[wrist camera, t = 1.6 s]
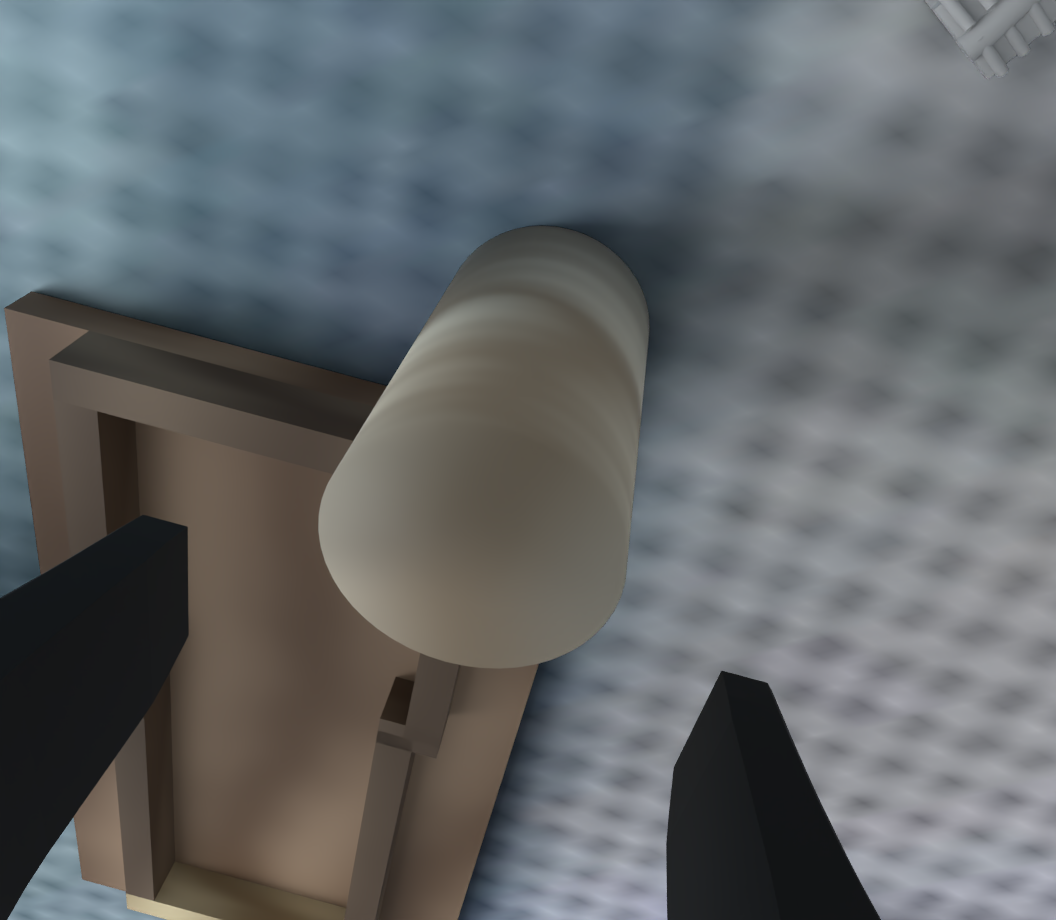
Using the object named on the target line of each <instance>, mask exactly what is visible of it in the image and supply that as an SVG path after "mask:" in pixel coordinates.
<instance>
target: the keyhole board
mask: <svg viewBox="0 0 1056 920" xmlns="http://www.w3.org/2000/svg"><path fill="white" fill-rule="evenodd" d="M4 310H5V317H6V324H7V331H8V339H9V346H10V353H11V361H12V368H13V375H14V383H15V390H16V397H17V405H18V412H19V419H20V427H21V434H22V441H23V449H24V456H25V463H26V471H27V478H28V485H29V493H30V500H31V507H32V515H33V522H34V529H35V536H36V544H37V551H38V558H39V566H40V573H41V575H42V574H43V573H45V572H47V571H48V570H50V569H52V568H53V567H55V566H57V565H58V564H60V563H62V562H63V561H65V560H67V559H68V558H70V557H72V556H74V555H75V554H77V553H79V552H80V551H82V550H84V549H85V548H87V547H89V546H90V545H92V544H94V543H95V542H97V541H99V540H100V539H102V538H104V537H105V536H107V535H109V534H110V533H112V532H114V531H115V530H117V529H119V528H120V527H122V526H124V525H126V524H127V523H129V522H131V521H133V520H134V519H136V518H138V517H140V516H142V515H147V516H150V517H154V518H158V519H161V520H165V521H169V522H173V523H176V524H180V525H184V526H187V527H188V617H189V636H188V638H187V640H186V642H185V644H184V646H183V648H182V650H181V652H180V654H179V655H178V657H177V659H176V661H175V663H174V665H173V667H172V669H171V671H170V673H169V675H168V677H167V678H166V680H165V682H164V684H163V686H162V687H161V689H160V691H159V693H158V695H157V697H156V698H155V700H154V702H153V704H152V705H151V707H150V708H149V710H148V711H147V713H146V714H145V715H144V717H143V718H142V720H141V721H140V723H139V724H138V726H137V727H136V729H135V730H134V731H133V733H132V734H131V736H130V737H129V739H128V740H127V741H126V743H125V744H124V746H123V747H122V749H121V750H120V752H119V753H118V754H117V756H116V757H115V759H114V760H113V762H112V763H111V764H110V766H109V767H108V769H107V770H106V771H105V773H104V774H103V776H102V777H101V779H100V780H99V781H98V783H97V784H96V786H95V787H94V788H93V790H92V791H91V793H90V794H89V796H88V797H87V798H86V800H85V801H84V803H83V804H82V805H81V807H80V808H79V810H78V811H77V813H76V814H75V815H74V822H75V829H76V837H77V844H78V851H79V859H80V866H81V873H82V879H83V880H86V881H90V882H94V883H97V884H101V885H105V886H108V887H112V888H116V889H119V890H123V891H126V898H127V909H131V910H134V911H138V912H142V913H145V914H149V915H153V916H156V917H160V918H163V919H167V920H458V917H459V914H460V910H461V907H462V904H463V901H464V898H465V895H466V892H467V888H468V885H469V882H470V879H471V876H472V873H473V869H474V866H475V863H476V860H477V857H478V854H479V851H480V847H481V844H482V841H483V838H484V835H485V832H486V829H487V825H488V822H489V819H490V816H491V813H492V810H493V807H494V803H495V800H496V797H497V794H498V791H499V788H500V785H501V781H502V778H503V775H504V772H505V769H506V766H507V762H508V759H509V756H510V753H511V750H512V747H513V744H514V740H515V737H516V734H517V731H518V728H519V725H520V722H521V718H522V715H523V712H524V709H525V706H526V703H527V700H528V696H529V693H530V690H531V687H532V684H533V681H534V678H535V674H536V671H537V668H538V665H539V664H535V665H529V666H523V667H517V668H502V669H496V668H478V667H470V666H462V665H458V664H454V663H449V662H445V661H442V660H439V659H435V658H432V657H429V656H426V655H424V654H422V653H419V652H417V651H415V650H412V649H410V648H408V647H406V646H404V645H402V644H401V643H399V642H397V641H395V640H393V639H392V638H390V637H389V636H387V635H386V634H384V633H383V632H381V631H380V630H378V629H377V628H376V627H375V626H373V625H372V624H371V623H370V622H369V621H367V620H366V619H365V618H364V617H363V616H362V615H361V614H360V613H359V612H358V611H357V610H356V609H355V608H354V607H353V606H352V605H351V604H350V602H349V601H348V600H347V599H346V597H345V596H344V595H343V594H342V592H341V591H340V589H339V588H338V586H337V584H336V583H335V581H334V580H333V578H332V576H331V574H330V572H329V569H328V567H327V565H326V563H325V560H324V556H323V553H322V550H321V546H320V539H319V532H318V524H319V510H320V505H321V500H322V497H323V494H324V492H325V489H326V486H327V484H328V482H329V480H330V479H331V477H332V475H333V474H334V472H335V470H336V469H337V467H338V465H339V464H340V462H341V460H342V459H343V457H344V456H345V454H346V452H347V451H348V449H349V447H350V446H351V444H352V443H353V441H354V439H355V438H356V436H357V434H358V433H359V431H360V430H361V428H362V426H363V425H364V423H365V421H366V420H367V418H368V417H369V415H370V413H371V412H372V410H373V408H374V407H375V405H376V404H377V402H378V400H379V399H380V397H381V395H382V394H383V392H384V391H385V389H386V387H387V386H385V385H381V384H377V383H374V382H370V381H366V380H362V379H359V378H355V377H351V376H347V375H344V374H340V373H336V372H332V371H328V370H325V369H321V368H317V367H313V366H310V365H306V364H302V363H298V362H295V361H291V360H287V359H283V358H280V357H276V356H272V355H268V354H265V353H261V352H257V351H253V350H250V349H246V348H242V347H238V346H235V345H231V344H227V343H223V342H220V341H216V340H212V339H208V338H205V337H201V336H197V335H193V334H189V333H186V332H182V331H178V330H174V329H171V328H167V327H163V326H159V325H156V324H152V323H148V322H144V321H141V320H137V319H133V318H129V317H126V316H122V315H118V314H114V313H111V312H107V311H103V310H99V309H96V308H92V307H88V306H84V305H81V304H77V303H73V302H69V301H65V300H62V299H58V298H54V297H50V296H47V295H43V294H39V293H35V292H30V293H28V294H27V295H25V296H23V297H22V298H20V299H18V300H17V301H15V302H14V303H12V304H10V305H9V306H7V307H5V308H4Z"/></svg>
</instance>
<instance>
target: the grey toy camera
mask: <svg viewBox="0 0 1056 920" xmlns="http://www.w3.org/2000/svg"><path fill="white" fill-rule="evenodd" d="M925 2H926V3H927V4H928V5H929V7H930V8H931V9H932V11H933V12H934V13H935V14H936V16H937V17H938V18H939V20H940V21H941V22H942V23H943V25H944V26H945V27H946V29H947V30H948V31H949V32H950V34H951V35H952V36H953V38H954V39H955V41H956V43H957V45H958V46H959V47H960V49H961V50H962V51H963V53H964V54H965V55H966V56H967V57H968V58H969V59H970V60H971V61H972V62H973V63H974V64H975V66H976V67H977V68H978V70H979V71H980V72H981V73H982V75H983V76H984V77H985V78H986V79H990V78H991V77H992V76H994V75H995V74H996V76H997V77H1002V76H1004V75H1006V74H1007V72H1008V71H1009V68H1008V67H1007V65H1006V64H1007V63H1008V62H1009V61H1010V60H1011V59H1013V58H1014V57H1016V56H1017V55H1018V57H1024V56H1025V55H1027V54H1028V53H1029V52H1030V47H1029V46H1028V45H1029V44H1030V43H1031V42H1032V41H1033V40H1034V39H1035V38H1037V37H1038V36H1040V35H1041V34H1042V36H1047V35H1049V34H1051V33H1052V32H1053V31H1054V29H1055V27H1054V26H1053V23H1054V21H1055V20H1056V0H925Z"/></svg>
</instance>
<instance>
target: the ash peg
mask: <svg viewBox="0 0 1056 920" xmlns="http://www.w3.org/2000/svg"><path fill="white" fill-rule="evenodd" d="M649 330H650V328H649V314H648V308H647V303H646V300H645V297H644V294H643V291H642V289H641V287H640V285H639V283H638V281H637V279H636V278H635V276H634V275H633V273H632V272H631V270H630V269H629V267H628V266H627V265H626V264H625V263H624V262H623V261H622V260H621V258H620V257H619V256H617V255H616V254H615V253H614V252H613V251H612V250H610V249H609V248H608V247H606V246H605V245H603V244H602V243H600V242H599V241H597V240H595V239H593V238H591V237H589V236H587V235H585V234H582V233H579V232H576V231H573V230H570V229H566V228H560V227H554V226H529V227H523V228H518V229H514V230H511V231H508V232H505V233H502V234H500V235H498V236H496V237H494V238H492V239H490V240H488V241H487V242H485V243H484V244H483V245H481V246H480V247H478V248H477V249H476V250H475V251H474V252H473V253H472V254H471V255H470V256H469V257H468V258H467V259H466V261H465V262H464V263H463V264H462V266H461V267H460V269H459V270H458V272H457V273H456V275H455V277H454V278H453V280H452V282H451V283H450V285H449V286H448V288H447V290H446V291H445V293H444V295H443V296H442V298H441V300H440V301H439V303H438V304H437V306H436V308H435V309H434V311H433V313H432V314H431V316H430V317H429V319H428V321H427V322H426V324H425V326H424V327H423V329H422V330H421V332H420V334H419V335H418V337H417V339H416V340H415V342H414V343H413V345H412V347H411V348H410V350H409V352H408V353H407V355H406V356H405V358H404V360H403V361H402V363H401V365H400V366H399V368H398V369H397V371H396V373H395V374H394V376H393V378H392V379H391V381H390V382H389V384H388V386H387V387H386V389H385V391H384V392H383V394H382V395H381V397H380V399H379V400H378V402H377V404H376V405H375V407H374V408H373V410H372V412H371V413H370V415H369V417H368V418H367V420H366V421H365V423H364V425H363V426H362V428H361V430H360V431H359V433H358V434H357V436H356V438H355V439H354V441H353V443H352V444H351V446H350V447H349V449H348V451H347V452H346V454H345V456H344V457H343V459H342V460H341V462H340V464H339V465H338V467H337V469H336V470H335V472H334V474H333V475H332V477H331V479H330V480H329V482H328V484H327V486H326V489H325V492H324V494H323V497H322V500H321V505H320V510H319V524H318V532H319V539H320V546H321V550H322V553H323V556H324V560H325V563H326V565H327V567H328V569H329V572H330V574H331V576H332V578H333V580H334V581H335V583H336V584H337V586H338V588H339V589H340V591H341V592H342V594H343V595H344V596H345V597H346V599H347V600H348V601H349V602H350V604H351V605H352V606H353V607H354V608H355V609H356V610H357V611H358V612H359V613H360V614H361V615H362V616H363V617H364V618H365V619H366V620H367V621H369V622H370V623H371V624H372V625H373V626H375V627H376V628H377V629H378V630H380V631H381V632H383V633H384V634H386V635H387V636H389V637H390V638H392V639H393V640H395V641H397V642H399V643H401V644H402V645H404V646H406V647H408V648H410V649H412V650H415V651H417V652H419V653H422V654H424V655H426V656H429V657H432V658H435V659H439V660H442V661H445V662H449V663H454V664H458V665H462V666H470V667H478V668H496V669H502V668H517V667H523V666H529V665H535V664H539V663H542V662H546V661H549V660H552V659H555V658H557V657H560V656H562V655H564V654H567V653H569V652H570V651H572V650H574V649H576V648H577V647H579V646H581V645H582V644H584V643H585V642H586V641H588V640H589V639H590V638H591V637H593V636H594V635H595V634H596V633H597V632H598V631H599V630H600V629H601V628H602V627H603V626H604V625H605V624H606V622H607V621H608V619H609V618H610V616H611V615H612V614H613V612H614V611H615V608H616V606H617V604H618V602H619V600H620V598H621V595H622V592H623V588H624V584H625V579H626V570H627V559H628V549H629V539H630V528H631V518H632V507H633V497H634V486H635V476H636V465H637V455H638V445H639V434H640V424H641V413H642V403H643V392H644V382H645V371H646V361H647V351H648V340H649Z"/></svg>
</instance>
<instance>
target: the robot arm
mask: <svg viewBox="0 0 1056 920" xmlns="http://www.w3.org/2000/svg"><path fill="white" fill-rule="evenodd" d="M188 636H189V617H188V527H187V526H184V525H180V524H176V523H173V522H169V521H165V520H161V519H158V518H154V517H150V516H147V515H142V516H140V517H138V518H136V519H134V520H133V521H131V522H129V523H127V524H126V525H124V526H122V527H120V528H119V529H117V530H115V531H114V532H112V533H110V534H109V535H107V536H105V537H104V538H102V539H100V540H99V541H97V542H95V543H94V544H92V545H90V546H89V547H87V548H85V549H84V550H82V551H80V552H79V553H77V554H75V555H74V556H72V557H70V558H68V559H67V560H65V561H63V562H62V563H60V564H58V565H57V566H55V567H53V568H52V569H50V570H48V571H47V572H45V573H43V574H42V575H40V576H38V577H36V578H35V579H33V580H31V581H29V582H28V583H26V584H24V585H22V586H21V587H19V588H17V589H15V590H14V591H12V592H10V593H8V594H6V595H5V596H3V597H1V598H0V920H7V919H8V917H9V915H10V914H11V912H12V910H13V909H14V907H15V905H16V903H17V902H18V900H19V898H20V896H21V895H22V893H23V891H24V889H25V888H26V886H27V885H28V883H29V881H30V880H31V878H32V877H33V875H34V874H35V872H36V871H37V869H38V868H39V866H40V865H41V863H42V861H43V860H44V858H45V857H46V855H47V854H48V852H49V851H50V849H51V848H52V847H53V845H54V844H55V842H56V841H57V839H58V838H59V837H60V835H61V834H62V832H63V831H64V830H65V828H66V827H67V825H68V824H69V822H70V821H71V820H72V818H73V817H74V815H75V814H76V813H77V811H78V810H79V808H80V807H81V805H82V804H83V803H84V801H85V800H86V798H87V797H88V796H89V794H90V793H91V791H92V790H93V788H94V787H95V786H96V784H97V783H98V781H99V780H100V779H101V777H102V776H103V774H104V773H105V771H106V770H107V769H108V767H109V766H110V764H111V763H112V762H113V760H114V759H115V757H116V756H117V754H118V753H119V752H120V750H121V749H122V747H123V746H124V744H125V743H126V741H127V740H128V739H129V737H130V736H131V734H132V733H133V731H134V730H135V729H136V727H137V726H138V724H139V723H140V721H141V720H142V718H143V717H144V715H145V714H146V713H147V711H148V710H149V708H150V707H151V705H152V704H153V702H154V700H155V698H156V697H157V695H158V693H159V691H160V689H161V687H162V686H163V684H164V682H165V680H166V678H167V677H168V675H169V673H170V671H171V669H172V667H173V665H174V663H175V661H176V659H177V657H178V655H179V654H180V652H181V650H182V648H183V646H184V644H185V642H186V640H187V638H188ZM666 846H667V917H668V920H881V919H880V917H879V915H878V914H877V912H876V910H875V908H874V906H873V905H872V903H871V901H870V899H869V897H868V895H867V894H866V892H865V890H864V888H863V886H862V884H861V883H860V881H859V879H858V877H857V875H856V873H855V871H854V869H853V867H852V865H851V863H850V861H849V859H848V857H847V856H846V853H845V851H844V849H843V847H842V845H841V843H840V841H839V839H838V837H837V835H836V833H835V831H834V829H833V827H832V825H831V823H830V821H829V819H828V817H827V815H826V813H825V811H824V808H823V806H822V804H821V802H820V800H819V798H818V796H817V794H816V791H815V789H814V787H813V785H812V783H811V781H810V778H809V776H808V774H807V772H806V769H805V767H804V765H803V763H802V760H801V758H800V756H799V754H798V751H797V749H796V747H795V744H794V742H793V740H792V737H791V735H790V733H789V730H788V728H787V726H786V723H785V721H784V719H783V716H782V714H781V711H780V709H779V707H778V704H777V702H776V700H775V697H774V695H773V692H772V690H771V689H770V687H769V685H768V683H765V682H762V681H758V680H754V679H751V678H747V677H743V676H740V675H736V674H732V673H728V672H725V671H721V673H720V675H719V677H718V679H717V681H716V683H715V685H714V687H713V689H712V691H711V693H710V695H709V697H708V699H707V701H706V703H705V705H704V707H703V709H702V711H701V714H700V716H699V718H698V720H697V722H696V724H695V726H694V728H693V730H692V732H691V734H690V736H689V738H688V740H687V742H686V744H685V746H684V748H683V750H682V752H681V754H680V756H679V758H678V760H677V762H676V764H675V766H674V771H673V781H672V790H671V799H670V809H669V820H668V832H667V843H666Z"/></svg>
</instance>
